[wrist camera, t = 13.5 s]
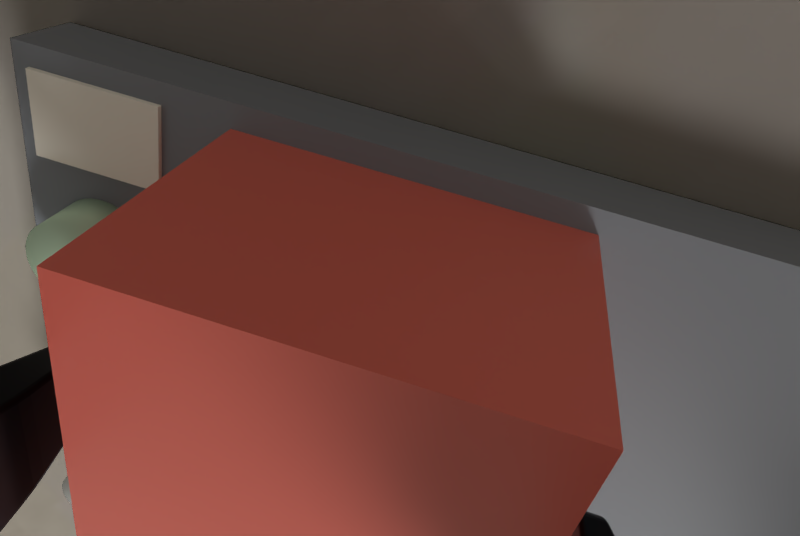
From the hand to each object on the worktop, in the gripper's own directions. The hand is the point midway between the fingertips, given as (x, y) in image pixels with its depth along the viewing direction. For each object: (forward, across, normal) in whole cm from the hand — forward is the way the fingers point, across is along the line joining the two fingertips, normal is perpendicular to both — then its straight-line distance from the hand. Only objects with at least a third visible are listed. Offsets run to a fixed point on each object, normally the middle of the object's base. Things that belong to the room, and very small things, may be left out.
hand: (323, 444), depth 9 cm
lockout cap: (+3, 0, 0) cm, 3 cm away
